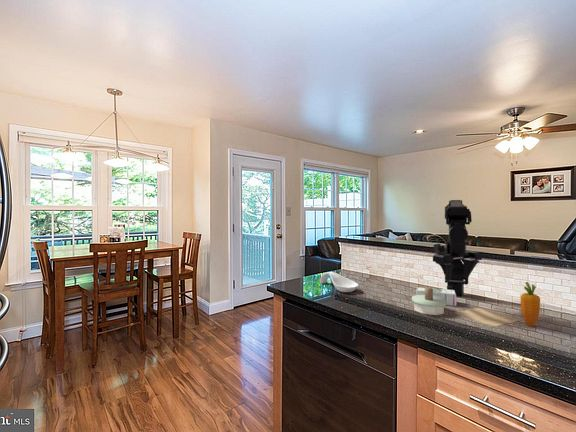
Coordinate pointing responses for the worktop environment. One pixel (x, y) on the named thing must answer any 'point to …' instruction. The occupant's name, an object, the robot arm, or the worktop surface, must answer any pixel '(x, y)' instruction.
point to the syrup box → (441, 295)
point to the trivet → (487, 317)
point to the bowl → (429, 309)
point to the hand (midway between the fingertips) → (457, 279)
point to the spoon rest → (340, 282)
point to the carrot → (530, 305)
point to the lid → (429, 299)
